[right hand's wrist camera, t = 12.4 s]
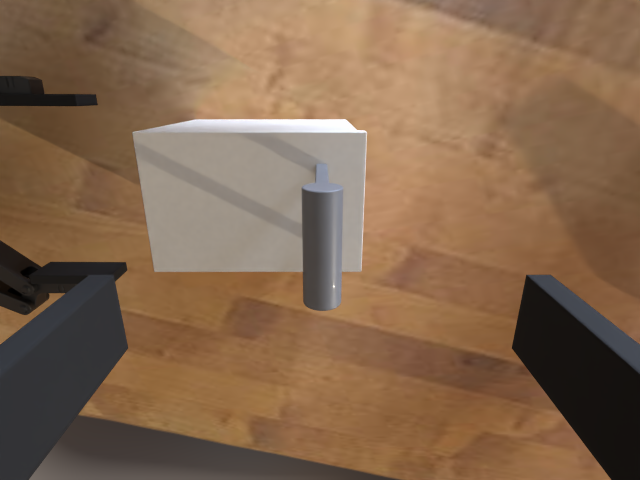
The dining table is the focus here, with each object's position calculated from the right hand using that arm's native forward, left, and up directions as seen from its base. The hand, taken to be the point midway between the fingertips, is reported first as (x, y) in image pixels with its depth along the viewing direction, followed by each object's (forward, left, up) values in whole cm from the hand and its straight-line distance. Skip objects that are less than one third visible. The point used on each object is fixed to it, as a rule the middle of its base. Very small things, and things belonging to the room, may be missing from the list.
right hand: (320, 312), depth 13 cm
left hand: (+10, -14, -19) cm, 25 cm away
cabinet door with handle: (+2, -4, -14) cm, 15 cm away
